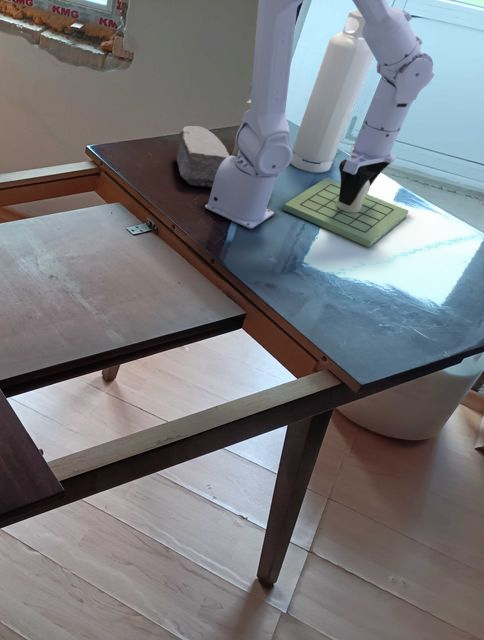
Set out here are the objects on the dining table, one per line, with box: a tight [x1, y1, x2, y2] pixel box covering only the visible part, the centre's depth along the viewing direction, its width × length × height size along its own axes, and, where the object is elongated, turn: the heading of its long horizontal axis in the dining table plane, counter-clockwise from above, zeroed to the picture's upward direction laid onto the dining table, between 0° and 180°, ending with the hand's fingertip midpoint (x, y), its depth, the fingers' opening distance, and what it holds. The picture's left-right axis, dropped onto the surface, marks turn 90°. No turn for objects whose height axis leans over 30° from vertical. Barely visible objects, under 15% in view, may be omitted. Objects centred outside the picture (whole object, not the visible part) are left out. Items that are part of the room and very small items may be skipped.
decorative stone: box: [176, 125, 231, 189], centre depth 129 cm, size 15×7×10 cm
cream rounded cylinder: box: [336, 180, 371, 213], centre depth 120 cm, size 4×4×6 cm
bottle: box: [290, 9, 375, 173], centre depth 128 cm, size 8×8×28 cm
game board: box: [282, 177, 409, 248], centre depth 122 cm, size 16×16×1 cm
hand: (350, 198), depth 121 cm, fingers closed on cream rounded cylinder, 4 cm apart
